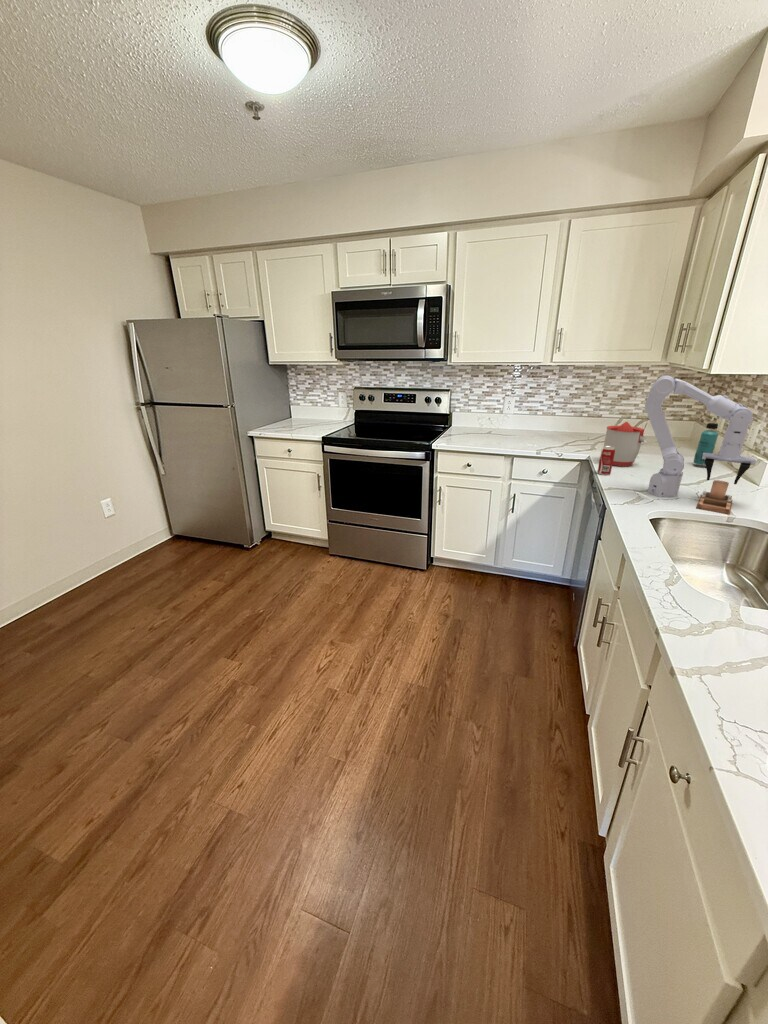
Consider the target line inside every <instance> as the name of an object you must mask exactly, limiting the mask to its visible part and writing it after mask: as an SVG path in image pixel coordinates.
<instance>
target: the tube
mask: <svg viewBox="0 0 768 1024" xmlns="http://www.w3.org/2000/svg"><path fill="white" fill-rule="evenodd" d="M729 485H730V483H729V481H724V480H720V479H719V480H713V481H712V485H711V488H710V491H709V492H710V494H709V498H714V499H720V500H724V498H725V495H727V492H728V491H727V490H728V488H729Z"/></svg>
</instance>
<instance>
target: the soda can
mask: <svg viewBox="0 0 768 1024" xmlns="http://www.w3.org/2000/svg"><path fill="white" fill-rule="evenodd" d="M614 454H615V447H611V446H604V445H603V447H602V448H601V452H600V458H599V463H598V468H597V474H598V475H600V476H610V475H612V474H611V473H612V469H613V465H612V464H613V459H614Z"/></svg>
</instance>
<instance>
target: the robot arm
mask: <svg viewBox="0 0 768 1024" xmlns="http://www.w3.org/2000/svg"><path fill="white" fill-rule="evenodd" d="M672 392H673V394H674V395H679V394H680V395H685V396H687V397H690V398H692V399H694V400H696V401H698V402H700V403H702V404H704V405H705V406H706V407H705V409H706V411H708V412H710V413H712V414H714V415H716V416H718V417H720V418H721V419H723V420H729V422H728V424H727V428H726V429H725V432H724V436H723V439H722V443H721V446H720V450H719V453H714V452H713V453H703V456H702V459H705V465H704V466H705V468H706V475H707V476H706V481H710V478H711V474H712V469H713V466H714V462H715V461H719V462H727V463H736V464H739V468H738V471H737V475H736V476H735V479H734V482H733V485H737V484H738V482H739V481H740V478H742V476H743V475H744V474H745V473H746V472H747V471H748V470H749V469H750V467H751V466H755V465H756V462H757V458H752V457H747V456H742V455H741V453H742V452H743V447H744V444H745V441H746V437H747V435H748V429H749V426H750V424H751V423H752V422H753V421H754V414H753V412H752V411H751V410H750V409H749V408H748V407H746V406H745V405H744V406H743V403H740V402H739V403H737V402H735V401H733V400H731V399H729V396H728V395H726V394H724V395H721V394H717V395H711V394H709V393H708V392H705V391H704V390H702V389H701V388H699V387H697V386H695V385H692V384H691V383H690V382H687V381H686V380H685V381H684V380H683V379H682V380H681V379H679V378H677V377H675V378H674V377H673V376H671V375H667V374H666V375H662V376H660V377H658V378H657V379H656V380H655V382H654V383H653V384H652V386H651V388H650V389H649V392H648V394H647V398H646V400H645V403H644V407H645V411H646V413H647V416H648V419H649V422H650V425H651V427H652V430H653V433H654V435H655V438H656V441H657V444H658V446H659V449H660V451H661V455H662V456H661V457H662V459H663V465H662V468H660V470H659V471H658V472H656V473H653V474H652V475H651V476H650V479H649V484H648V487H647V493H648V494H651V495H654V496H656V497H658V498H660V497H661V498H665V497H670V498H671V497H672V498H674V497H677V496H678V493H679V491H680V486H681V482H682V480H683V475H684V472H683V470H684V469H685V458H684V456H683V455H682V454H681V452H679V450H678V447H677V446H676V444H675V441H674V439H673V438H674V437H673V435H672V433H671V430H670V428H669V424H668V422H667V420H666V417H665V414H664V410H663V409H662V404H663V402H664V401H665V399H666V398H667V397H668V396H669V395H671V393H672Z"/></svg>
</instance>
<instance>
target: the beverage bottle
mask: <svg viewBox="0 0 768 1024" xmlns="http://www.w3.org/2000/svg"><path fill="white" fill-rule="evenodd" d="M718 426H719V424H718V423H714V422H712V423H711V422H709V423H708V422H707V424H706V427H705V428H706V430H702V432H701V435H700V437H699V438H700V439H699V441H698V445H697V447H696V450H695V453H694V454H695V455H694V458H693V463H694V464H696V465H701V466H702V465H703V466H706V465H705V459H702V456H703V453H714V451H715V446H716V444H717V441H718V437H719V433H718V432H717V431H716V430H717V429H718ZM709 429H710V430H709Z"/></svg>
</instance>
